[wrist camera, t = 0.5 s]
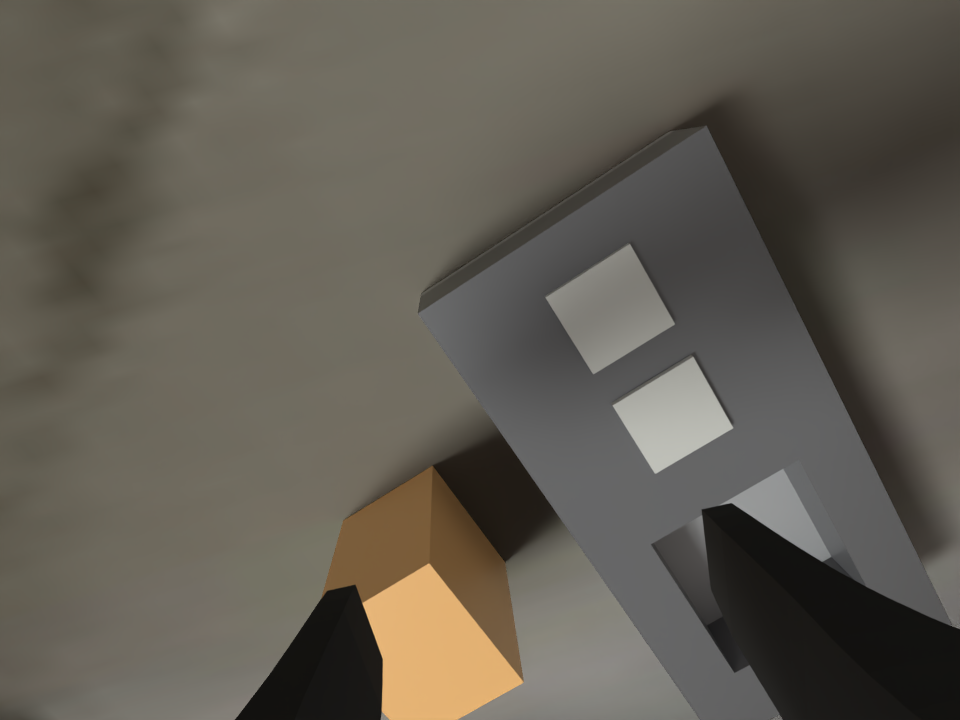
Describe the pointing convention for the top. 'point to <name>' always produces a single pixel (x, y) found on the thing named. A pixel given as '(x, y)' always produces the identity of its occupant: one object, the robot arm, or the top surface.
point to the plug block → (430, 601)
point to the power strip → (670, 402)
